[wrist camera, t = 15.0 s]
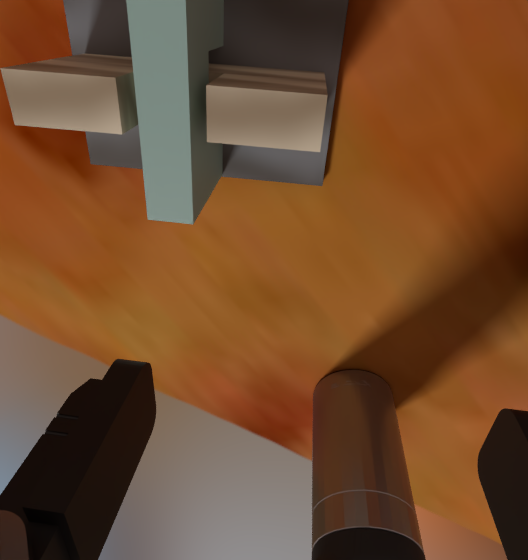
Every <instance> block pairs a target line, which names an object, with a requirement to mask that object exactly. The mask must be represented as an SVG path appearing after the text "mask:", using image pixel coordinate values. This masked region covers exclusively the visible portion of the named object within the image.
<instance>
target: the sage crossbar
mask: <svg viewBox="0 0 528 560" xmlns="http://www.w3.org/2000/svg"><path fill="white" fill-rule="evenodd" d="M126 3H127V13H128V23H129V33H130V43H131V54H132V64H133V74H134V84H135V94H136V104H137V114H138V125H139V135H140V145H141V155H142V165H143V175H144V185H145V196H146V206H147V216H148V220H157V221H167V222H176V223H186V224H194V222H195V220H196V219H197V217H198V215H199V214H200V212H201V210H202V208H203V207H204V205H205V203H206V202H207V200H208V198H209V196H210V195H211V193H212V191H213V190H214V188H215V186H216V184H217V183H218V181H219V179H220V178H221V176H222V170H223V144H222V143H211V142H207V110H206V85H207V84H209V55H208V51H210V50H213V49H216V48H219V47H222V46H223V39H224V0H126Z"/></svg>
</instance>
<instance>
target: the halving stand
mask: <svg viewBox="0 0 528 560" xmlns="http://www.w3.org/2000/svg"><path fill="white" fill-rule="evenodd" d="M348 1H349V0H224V39H223V46H222V47H219V48H216V49H213V50H210V51H208V55H209V84H207V85H206V110H207V142H211V143H222V144H223V170H222V176H223V177H233V178H244V179H255V180H265V181H276V182H286V183H297V184H307V185H318V186H322V184H323V177H324V170H325V163H326V156H327V149H328V142H329V135H330V128H331V121H332V114H333V107H334V100H335V93H336V86H337V79H338V71H339V64H340V57H341V50H342V43H343V36H344V29H345V22H346V15H347V8H348ZM63 2H64V7H65V13H66V19H67V25H68V31H69V37H70V43H71V49H72V55H73V56H68V57H62V58H56V59H51V60H45V61H39V62H33V63H28V64H22V65H16V66H10V67H4V68H1V72H2V76H3V80H4V84H5V88H6V92H7V96H8V99H9V103H10V107H11V111H12V115H13V119H14V123H15V125H22V126H34V127H45V128H56V129H67V130H78V131H85V132H86V138H87V144H88V150H89V156H90V162H91V164H96V165H106V166H117V167H127V168H138V169H143V165H142V155H141V145H140V135H139V125H138V114H137V104H136V94H135V84H134V74H133V64H132V54H131V43H130V33H129V23H128V13H127V3H126V0H63Z"/></svg>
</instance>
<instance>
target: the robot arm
mask: <svg viewBox="0 0 528 560" xmlns="http://www.w3.org/2000/svg"><path fill="white" fill-rule="evenodd" d="M155 417H156V401H155V394H154V384H153V376H152V368H151V365H150V363H147V362H139V361H131V360H123V359H117V360H115V361H114V362H113V364H112V365H111V367H110V368H109V370H108V371H107V373H106V375H105V376H104V378H103V379H102V380H99V379H89V380H88V381H87V382H86V383H84V384H83V385H82V386H80V387H79V388H78V389H76V390H75V391H74V392H72V393H71V394H70V396H69V397H68V399H67V400H66V401H65V403H64V404H63V406H62V407H61V408H60V410H59V411H58V413H57V417H56V418H55V417H54V419H53V420H52V421H51V423H50V424H49V426H48V427H47V429H46V432H45V434H43V435H42V436H41V437H40V439H39V440H38V442H37V443H36V445H35V446H34V447H33V449H32V450H31V452H30V453H29V455H28V456H27V458H26V459H25V460H24V462H23V463H22V465H21V466H20V468H19V469H18V470H17V472H16V473H15V475H14V476H13V478H12V479H11V481H10V482H9V484H8V485H7V486H6V488H5V490H4V491H3V492H2V494H1V495H0V560H98V558H99V556H100V553H101V551H102V549H103V546H104V544H105V542H106V539H107V537H108V535H109V532H110V530H111V527H112V525H113V523H114V520H115V518H116V516H117V513H118V511H119V509H120V506H121V504H122V502H123V499H124V497H125V495H126V492H127V490H128V487H129V485H130V483H131V480H132V478H133V476H134V473H135V471H136V468H137V466H138V464H139V462H140V459H141V457H142V454H143V452H144V450H145V447H146V445H147V443H148V440H149V438H150V436H151V433H152V430H153V427H154V423H155ZM478 474H479V479H480V482H481V485H482V488H483V491H484V494H485V496H486V499H487V502H488V505H489V508H490V511H491V513H492V516H493V519H494V522H495V525H496V528H497V531H498V533H499V536H500V539H501V542H502V545H503V548H504V550H505V553H506V556H507V559H508V560H528V411H521V410H513V409H502V410H501V411H500V412H499V414H498V416H497V418H496V420H495V422H494V424H493V426H492V428H491V430H490V432H489V434H488V436H487V438H486V440H485V442H484V444H483V446H482V448H481V450H480V452H479V456H478ZM312 560H426V559H425V555H424V550H423V546H422V541H421V535H420V531H419V526H418V520H417V516H416V511H415V506H414V501H413V496H412V491H411V486H410V481H409V476H408V471H407V466H406V461H405V456H404V451H403V446H402V441H401V436H400V430H399V425H398V420H397V415H396V410H395V405H394V400H393V395H392V391H391V389H390V387H389V385H388V384H387V383H386V382H385V381H384V380H383V379H382V378H381V377H379V376H377V375H375V374H373V373H370V372H367V371H361V370H344V371H339V372H336V373H332V374H330V375H328V376H327V377H325V378H324V379H322V380H321V381H320V382H319V383H318V385H317V386H316V387H315V390H314V393H313V453H312Z"/></svg>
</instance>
